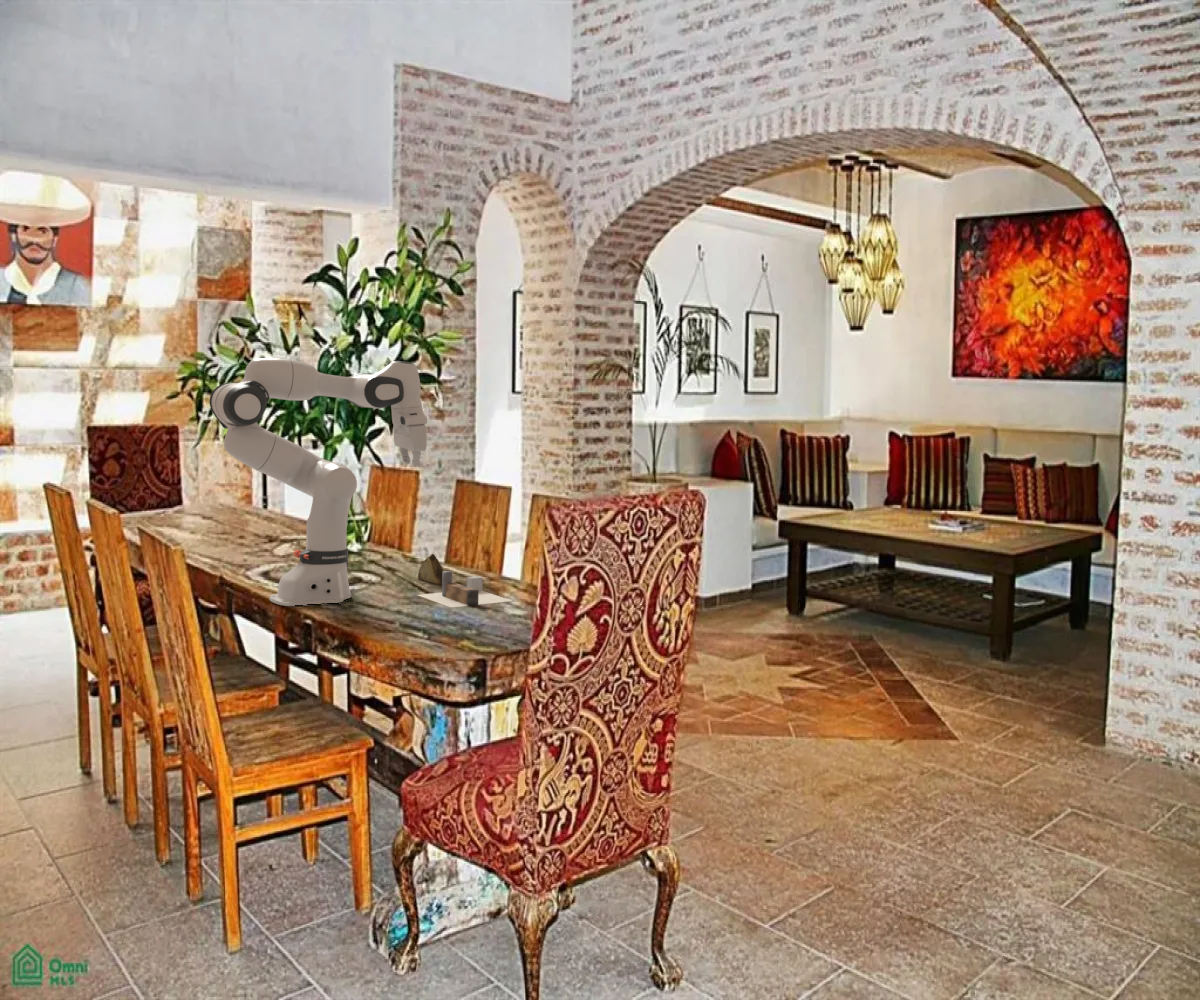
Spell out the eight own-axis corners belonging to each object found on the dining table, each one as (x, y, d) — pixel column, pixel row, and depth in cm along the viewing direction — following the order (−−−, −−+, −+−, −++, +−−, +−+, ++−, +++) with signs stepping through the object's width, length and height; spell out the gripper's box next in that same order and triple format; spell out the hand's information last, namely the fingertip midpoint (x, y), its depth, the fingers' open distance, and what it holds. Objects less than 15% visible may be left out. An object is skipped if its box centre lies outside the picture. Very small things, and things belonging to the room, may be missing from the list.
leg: (445, 597, 321) (445, 583, 321) (455, 596, 323) (455, 582, 323) (470, 606, 310) (470, 592, 310) (480, 605, 312) (480, 591, 311)
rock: (408, 573, 349) (415, 575, 340) (424, 551, 351) (431, 552, 342) (435, 593, 352) (443, 595, 343) (451, 571, 354) (459, 572, 345)
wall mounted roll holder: (451, 610, 308) (451, 582, 307) (416, 597, 324) (417, 571, 323) (512, 603, 320) (513, 576, 319) (476, 591, 336) (477, 566, 335)
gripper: (386, 415, 333) (390, 461, 335) (407, 420, 315) (411, 468, 317) (406, 413, 336) (410, 459, 338) (429, 418, 318) (432, 466, 320)
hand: (411, 464), depth 328 cm, fingers open, 8 cm apart
